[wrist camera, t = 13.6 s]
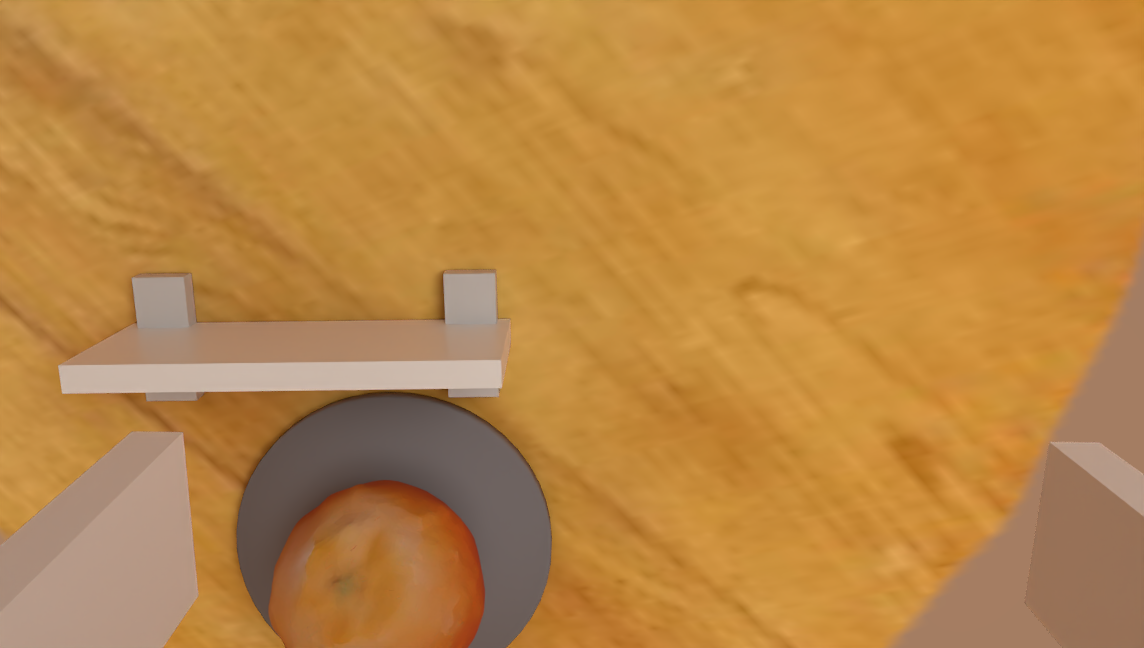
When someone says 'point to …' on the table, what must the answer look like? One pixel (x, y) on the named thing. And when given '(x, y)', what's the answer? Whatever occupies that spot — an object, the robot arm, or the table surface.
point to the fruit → (378, 573)
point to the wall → (296, 348)
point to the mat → (419, 458)
